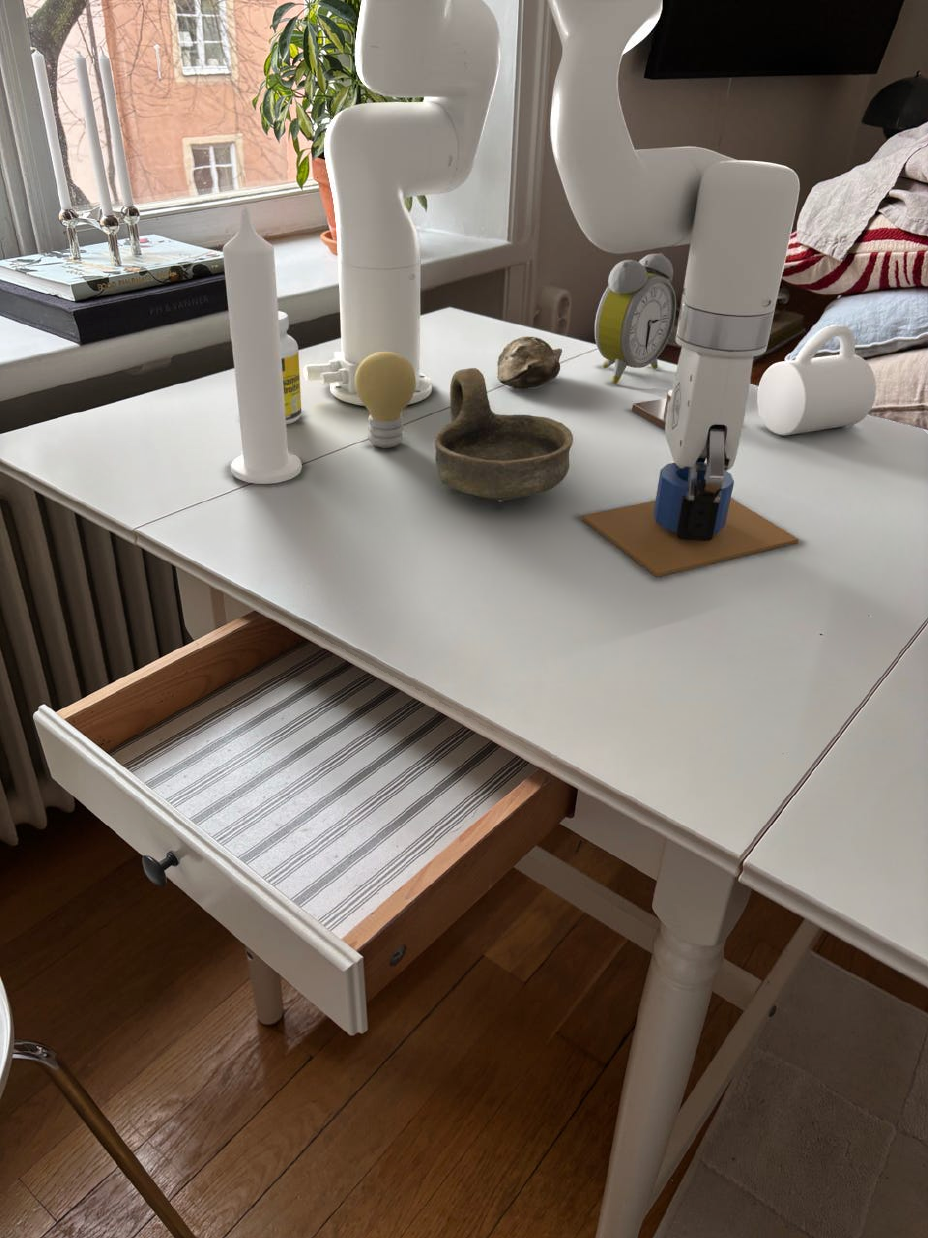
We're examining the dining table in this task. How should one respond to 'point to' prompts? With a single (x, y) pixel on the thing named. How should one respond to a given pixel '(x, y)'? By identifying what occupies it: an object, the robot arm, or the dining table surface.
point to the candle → (257, 358)
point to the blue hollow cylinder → (676, 487)
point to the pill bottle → (289, 371)
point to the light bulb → (385, 395)
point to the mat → (670, 554)
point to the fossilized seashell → (528, 363)
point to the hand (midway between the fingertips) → (688, 518)
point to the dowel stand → (654, 410)
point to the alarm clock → (636, 313)
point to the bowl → (498, 446)
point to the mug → (817, 387)
